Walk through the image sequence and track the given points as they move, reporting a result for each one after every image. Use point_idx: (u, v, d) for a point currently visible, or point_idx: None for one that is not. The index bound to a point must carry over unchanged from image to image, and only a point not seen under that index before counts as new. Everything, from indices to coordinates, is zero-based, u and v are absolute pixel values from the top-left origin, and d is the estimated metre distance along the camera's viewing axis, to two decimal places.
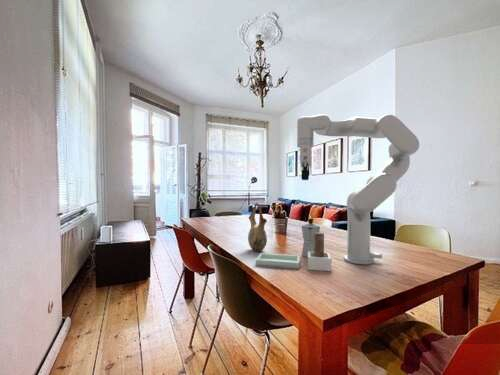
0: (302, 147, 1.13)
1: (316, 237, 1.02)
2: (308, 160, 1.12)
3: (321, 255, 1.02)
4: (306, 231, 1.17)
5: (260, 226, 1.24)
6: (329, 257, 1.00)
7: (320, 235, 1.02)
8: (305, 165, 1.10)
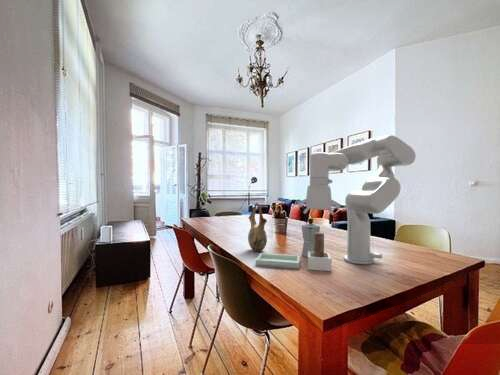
0: (330, 188, 1.01)
1: (316, 237, 1.02)
2: None
3: (321, 255, 1.02)
4: (306, 231, 1.17)
5: (260, 226, 1.24)
6: (329, 257, 1.00)
7: (320, 235, 1.02)
8: None
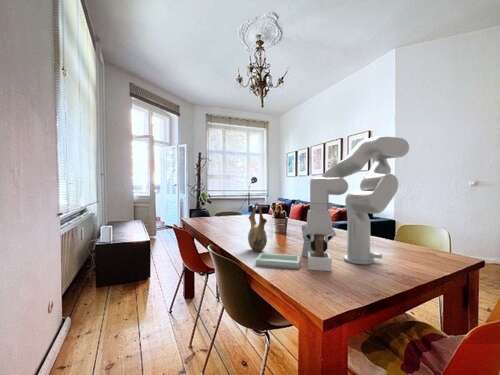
0: (330, 213, 1.01)
1: (316, 237, 1.02)
2: None
3: (321, 255, 1.02)
4: None
5: (260, 226, 1.24)
6: (329, 257, 1.00)
7: (320, 235, 1.02)
8: None
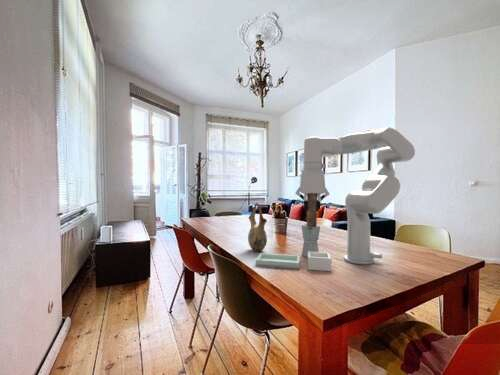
0: (323, 172, 1.02)
1: (309, 196, 1.03)
2: None
3: (314, 214, 1.02)
4: (306, 231, 1.17)
5: (260, 226, 1.24)
6: (329, 257, 1.00)
7: (313, 194, 1.02)
8: None
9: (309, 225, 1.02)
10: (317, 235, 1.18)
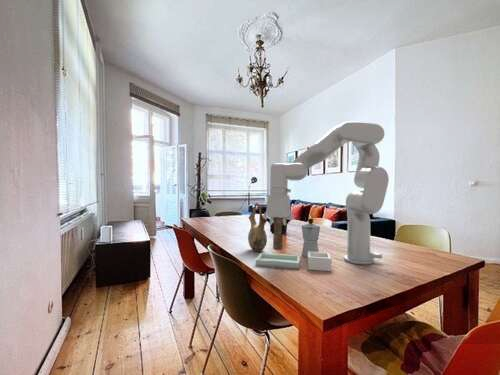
0: (288, 197, 1.05)
1: (275, 220, 1.06)
2: None
3: (279, 237, 1.06)
4: (306, 231, 1.17)
5: (260, 226, 1.24)
6: (329, 257, 1.00)
7: (278, 218, 1.06)
8: None
9: (275, 248, 1.06)
10: (317, 235, 1.18)
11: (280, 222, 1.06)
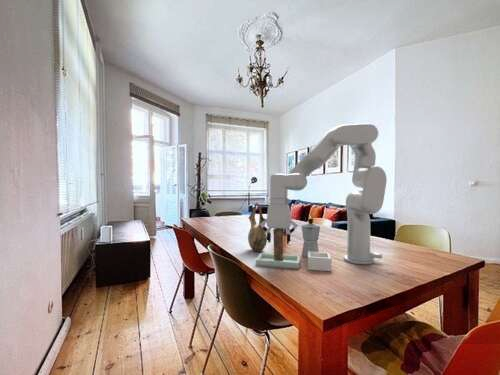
0: (288, 208, 1.05)
1: (275, 233, 1.07)
2: (290, 222, 1.08)
3: (280, 250, 1.06)
4: (306, 231, 1.17)
5: (260, 226, 1.24)
6: (329, 257, 1.00)
7: (278, 231, 1.06)
8: (294, 229, 1.06)
9: None
10: (317, 235, 1.18)
11: (280, 235, 1.06)
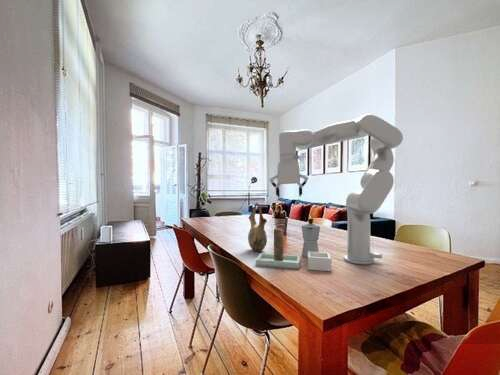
0: (298, 163, 1.10)
1: (275, 233, 1.07)
2: None
3: (280, 250, 1.06)
4: (306, 231, 1.17)
5: (260, 226, 1.24)
6: (329, 257, 1.00)
7: (278, 231, 1.06)
8: None
9: None
10: (317, 235, 1.18)
11: (280, 235, 1.06)
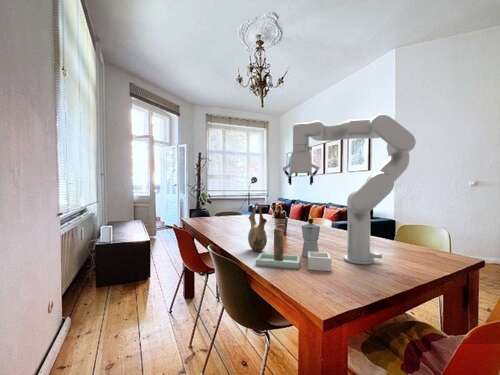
0: (310, 154, 1.17)
1: (275, 233, 1.07)
2: (311, 167, 1.20)
3: (280, 250, 1.06)
4: (306, 231, 1.17)
5: (260, 226, 1.24)
6: (329, 257, 1.00)
7: (279, 231, 1.06)
8: None
9: None
10: (317, 235, 1.18)
11: (280, 235, 1.06)
